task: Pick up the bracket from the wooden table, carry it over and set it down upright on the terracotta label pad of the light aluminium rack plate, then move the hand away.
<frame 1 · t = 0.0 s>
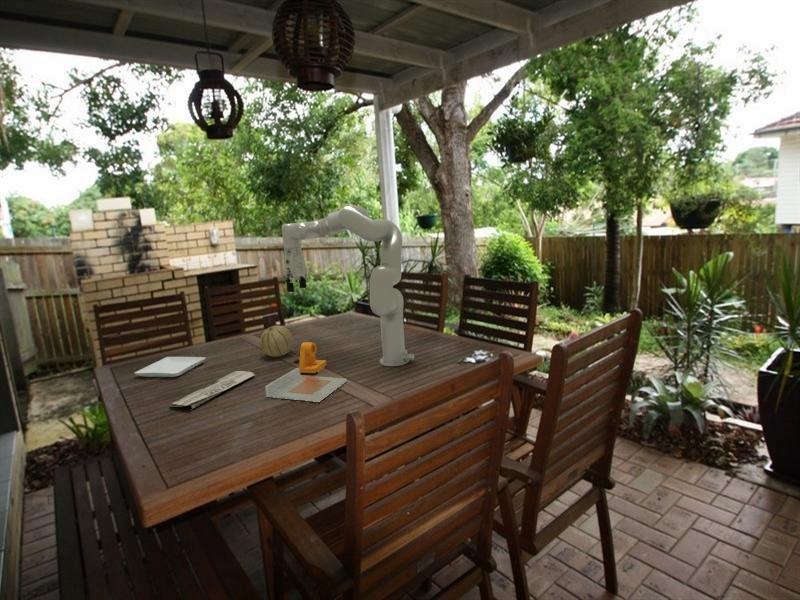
hand: (297, 289, 205), 31 cm above the table, tool pointing down, fingers open, 9 cm apart
salad plate: (172, 371, 203), on the table
cantaloupe: (278, 356, 214), on the table
newspaper: (216, 393, 174), on the table
bracket: (313, 370, 191), on the table
rack plate: (308, 390, 169), on the table
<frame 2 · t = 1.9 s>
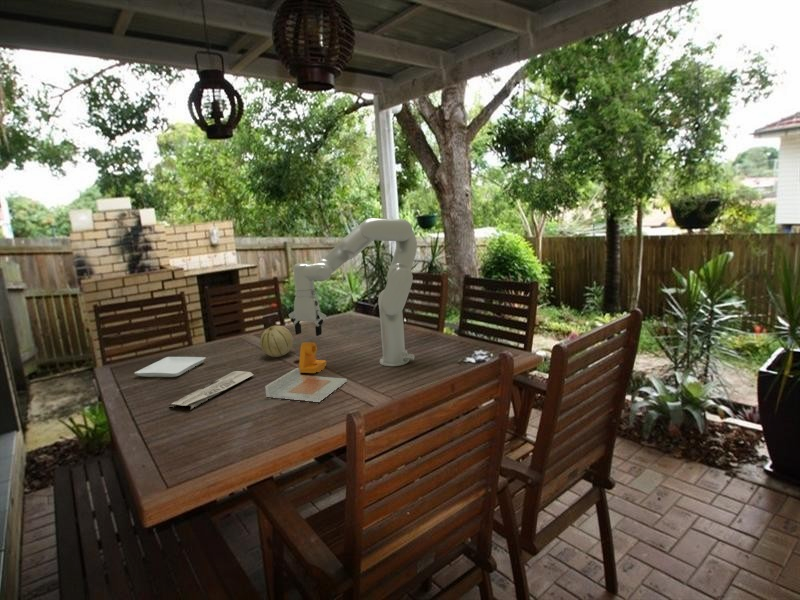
hand: (308, 334, 188), 15 cm above the table, tool pointing down, fingers open, 9 cm apart
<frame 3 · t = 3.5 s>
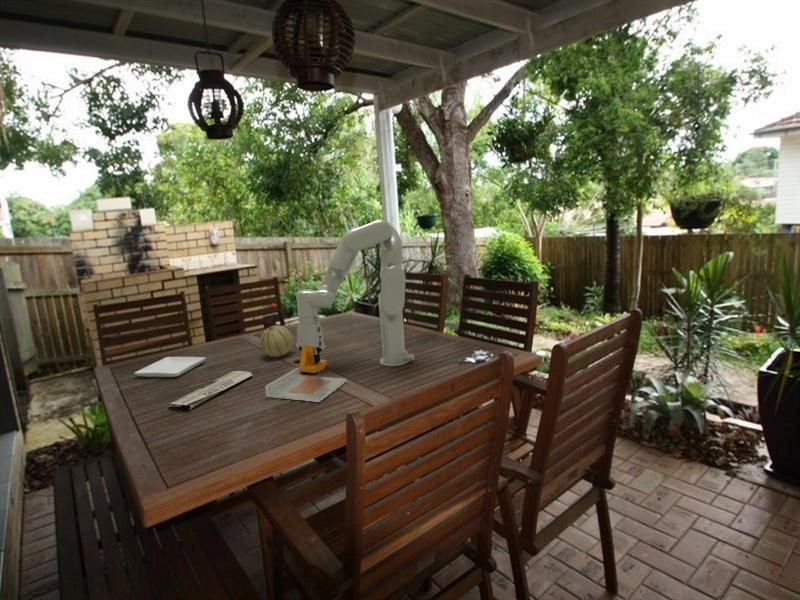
hand: (312, 361, 190), 4 cm above the table, tool pointing down, fingers closed on bracket, 4 cm apart
bracket: (314, 370, 190), on the table, touching gripper
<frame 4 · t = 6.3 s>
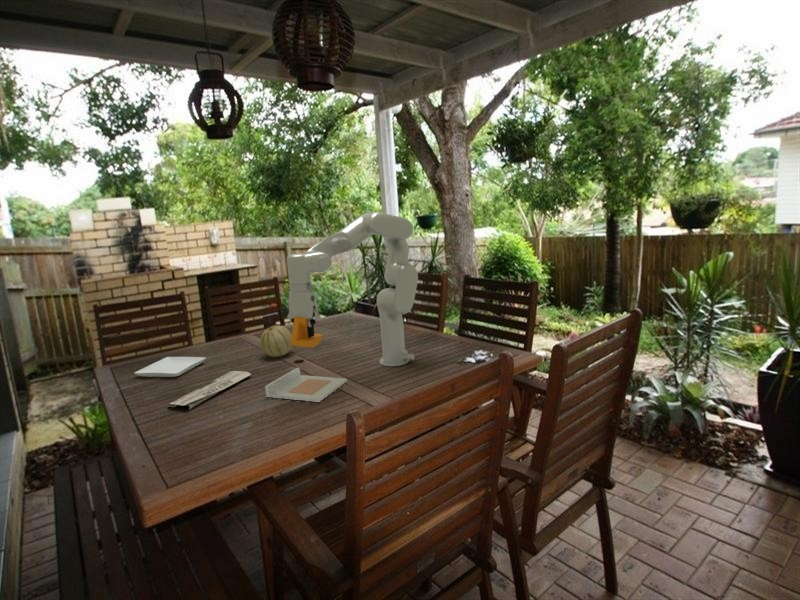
hand: (305, 335, 170), 19 cm above the table, tool pointing down, fingers closed on bracket, 4 cm apart
bracket: (307, 344, 170), point 16 cm above the table, touching gripper
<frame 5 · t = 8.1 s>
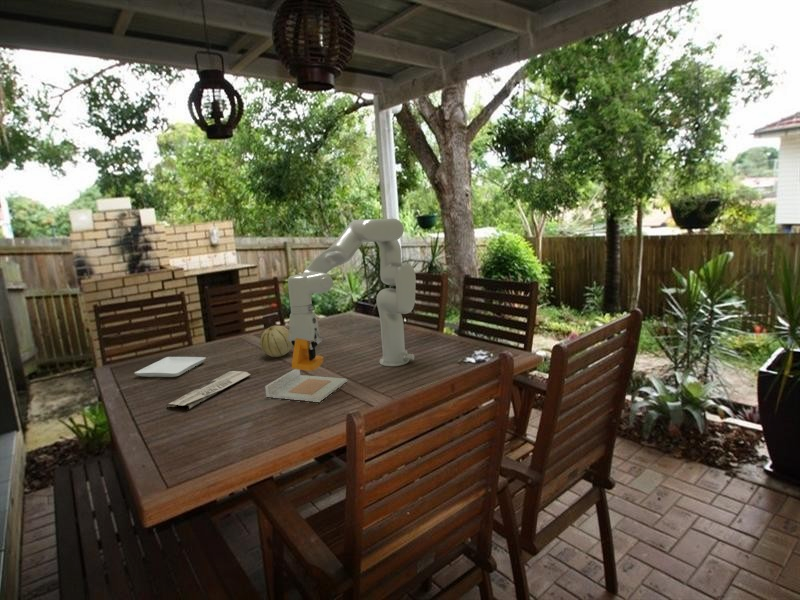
hand: (306, 358, 166), 12 cm above the table, tool pointing down, fingers closed on bracket, 4 cm apart
bracket: (308, 367, 166), point 9 cm above the table, touching gripper
when the fingers open (7 cm above the table, at t = 9.5 s): bracket drops 2 cm, resting on rack plate.
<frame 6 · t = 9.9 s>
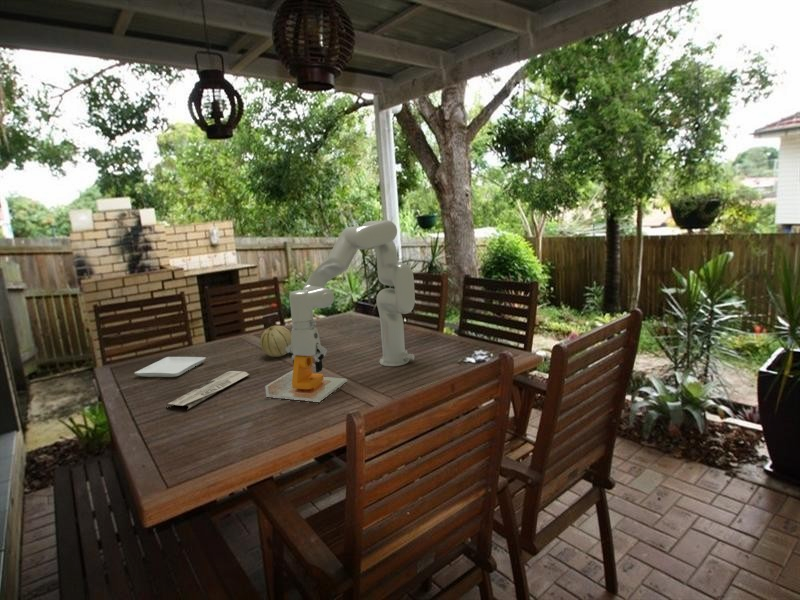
hand: (308, 370, 167), 8 cm above the table, tool pointing down, fingers open, 9 cm apart
bracket: (309, 385, 168), point 1 cm above the table, touching rack plate
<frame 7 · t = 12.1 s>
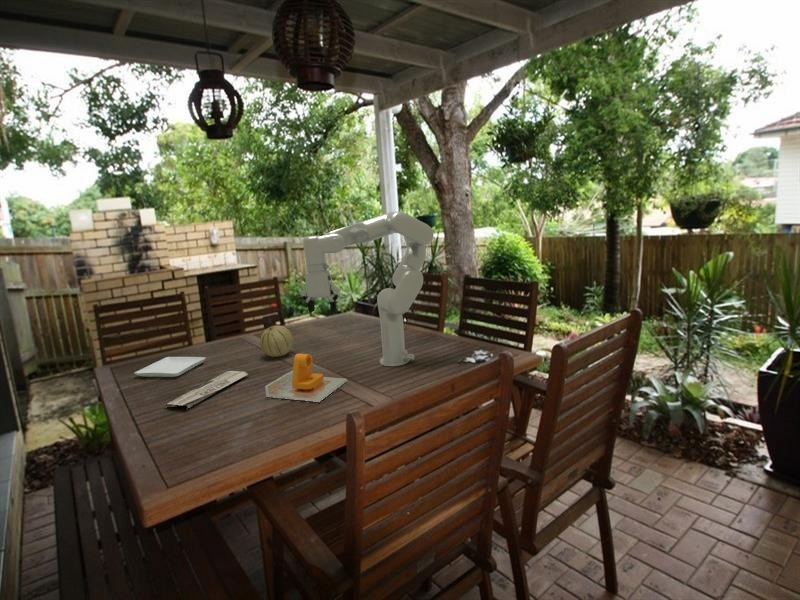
hand: (322, 311, 178), 26 cm above the table, tool pointing down, fingers open, 9 cm apart
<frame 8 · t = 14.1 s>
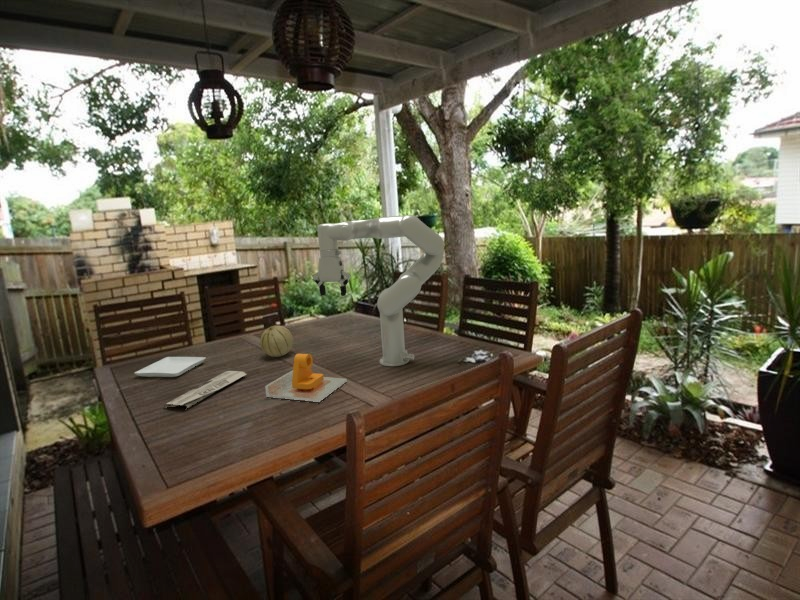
hand: (333, 295, 189), 30 cm above the table, tool pointing down, fingers open, 9 cm apart
at the end: bracket inside the target area on the rack plate (0.6 cm from its centre), point 1.5 cm above the rack plate's base; bracket tilted 0°; the gripper is holding nothing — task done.
